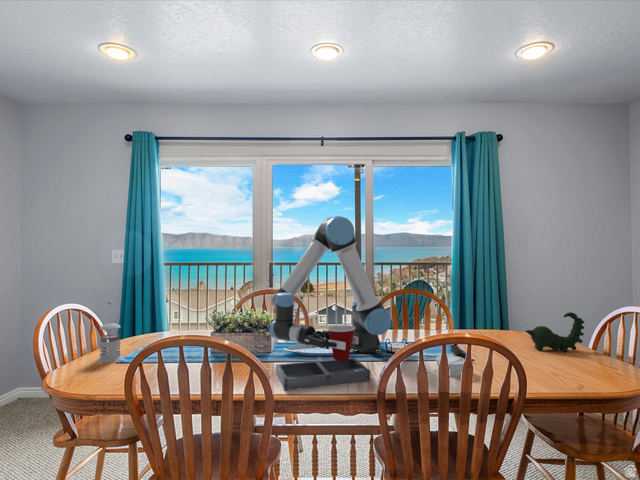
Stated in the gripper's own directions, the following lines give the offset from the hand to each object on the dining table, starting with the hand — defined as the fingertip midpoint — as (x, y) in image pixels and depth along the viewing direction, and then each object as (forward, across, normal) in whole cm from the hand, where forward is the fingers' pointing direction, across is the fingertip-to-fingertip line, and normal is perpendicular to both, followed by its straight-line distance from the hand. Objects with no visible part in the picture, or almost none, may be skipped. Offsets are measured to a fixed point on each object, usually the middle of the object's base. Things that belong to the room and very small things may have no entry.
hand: (351, 343), depth 154 cm
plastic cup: (-5, 0, -7) cm, 8 cm away
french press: (-99, +38, -15) cm, 107 cm away
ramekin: (+29, -28, -13) cm, 42 cm away
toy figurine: (+60, -84, -12) cm, 104 cm away
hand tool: (+24, -52, -13) cm, 59 cm away
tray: (-9, +6, -13) cm, 17 cm away
